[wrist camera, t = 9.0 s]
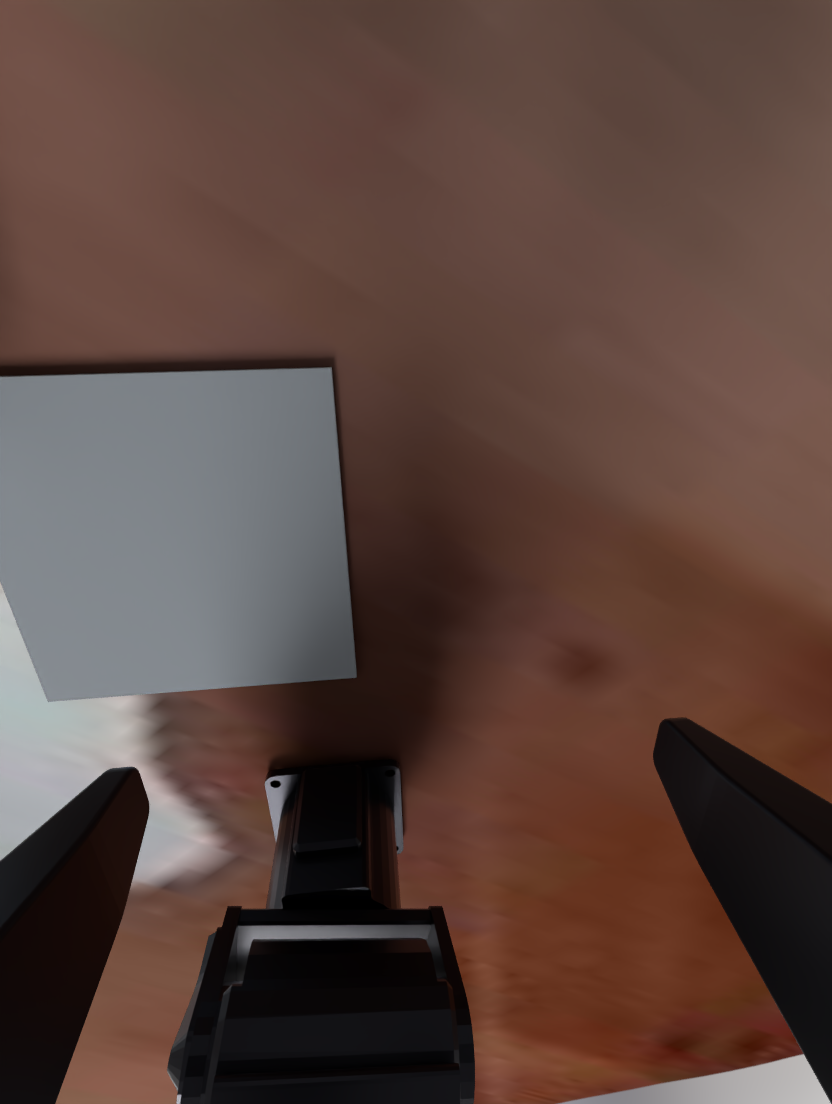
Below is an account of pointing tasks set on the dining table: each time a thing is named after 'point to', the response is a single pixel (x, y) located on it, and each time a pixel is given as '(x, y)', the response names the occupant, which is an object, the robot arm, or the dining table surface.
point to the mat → (175, 530)
